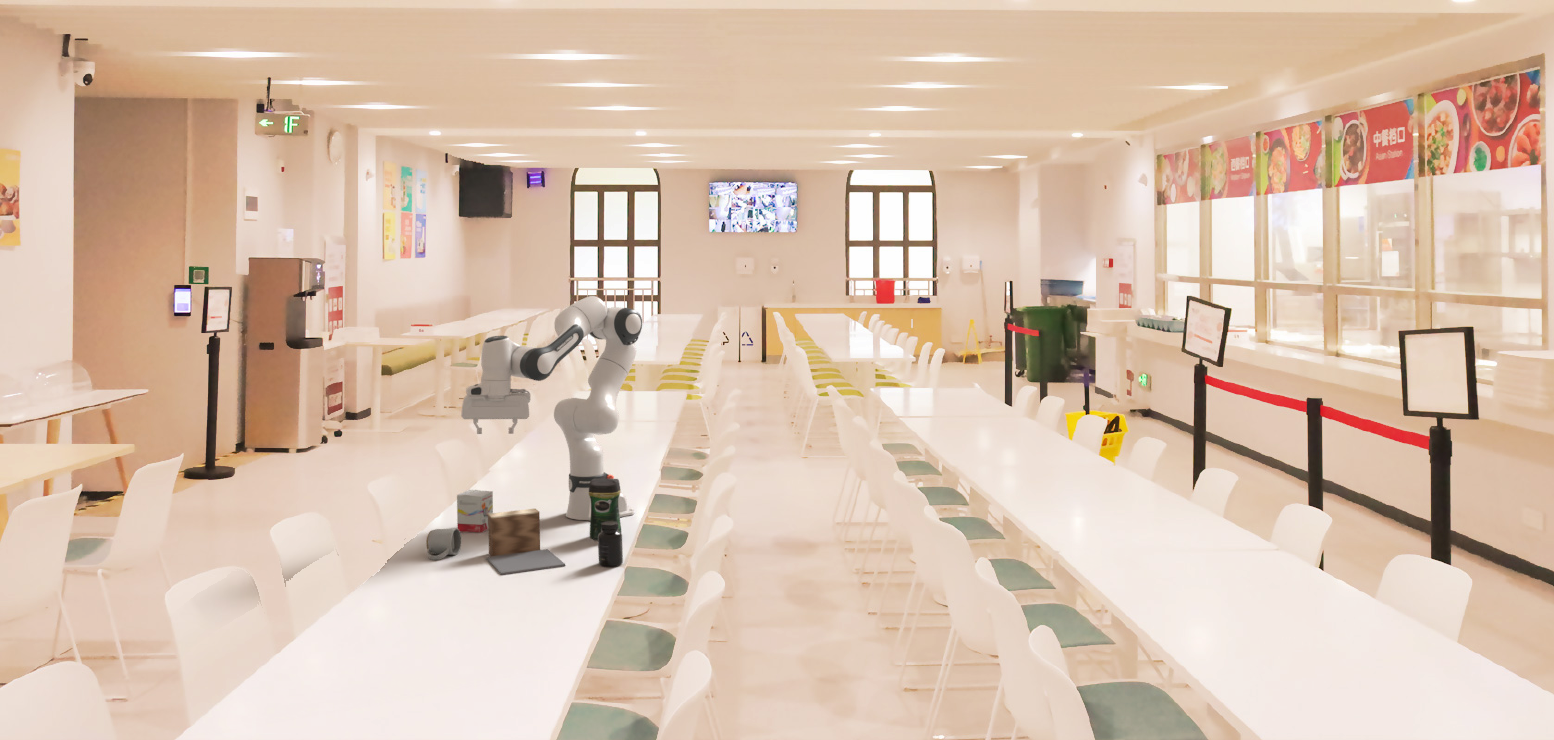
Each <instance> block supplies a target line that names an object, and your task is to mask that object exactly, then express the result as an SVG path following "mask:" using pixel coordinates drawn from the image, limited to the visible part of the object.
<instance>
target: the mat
mask: <svg viewBox="0 0 1554 740" xmlns="http://www.w3.org/2000/svg"><path fill="white" fill-rule="evenodd" d="M486 561H487V562H488V563H489V564H491V566H492V567H493V568H494V569H495V570H496V571H497V572H498V574H500V575H501V576H504V575H512V574H520V573H526V572H533V571H539V570H545V569H546V570H547V569H554V568H555V569H556V568H561V567H562V568H563V567H566V563H565V562H563V561H562V560H561V559H560V558H559V557H558V556H556V554H554V553H553V552H552V551H551V550H550V549H549V548H545V549H540V550H536V551H528V552H521V553H513V554H505V555H498V556H491V555H489V556H486Z"/></svg>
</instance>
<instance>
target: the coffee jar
mask: <svg viewBox="0 0 1554 740" xmlns="http://www.w3.org/2000/svg"><path fill="white" fill-rule="evenodd" d="M620 491H621V486H620V480H619V478H613V479H593V480H591V481H590V485H589V496H590V499H591V520H590V521H589V522H590V523H589V538H590V539H592V540H594V541H595V540H597V541H598V535H599V533H600V532H602V530H601V523H602V522H606V521H616V522H618V527H619V529H618V531H620V532H621V533H622V526H621V525H622V524H621V517H620V515H619V504H618V499H619V495H620ZM621 492H622V491H621Z"/></svg>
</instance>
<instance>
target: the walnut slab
mask: <svg viewBox="0 0 1554 740" xmlns="http://www.w3.org/2000/svg"><path fill="white" fill-rule="evenodd" d="M540 516H541V515H540V511H539V510H538V509H537V508H527V509H519V510H509V511H501V512H493V513H490V514H488V529H487V531H488V535H487V536H488V554H489V556H498V555H505V554H513V553H521V552H528V551H536V550H541V530H540V529H541V521H540V520H541V519H540V518H541V517H540Z"/></svg>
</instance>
